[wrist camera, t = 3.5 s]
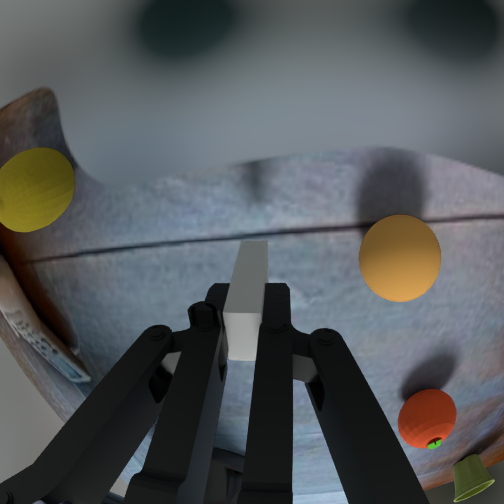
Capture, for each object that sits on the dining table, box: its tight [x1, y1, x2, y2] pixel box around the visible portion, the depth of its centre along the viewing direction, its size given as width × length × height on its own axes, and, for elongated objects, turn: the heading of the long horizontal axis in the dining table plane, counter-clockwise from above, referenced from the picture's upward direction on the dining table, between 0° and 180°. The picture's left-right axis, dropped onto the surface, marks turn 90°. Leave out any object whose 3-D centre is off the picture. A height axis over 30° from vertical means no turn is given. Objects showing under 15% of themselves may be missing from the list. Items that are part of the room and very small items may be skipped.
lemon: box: [0, 147, 75, 232], centre depth 17 cm, size 6×6×8 cm
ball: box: [359, 215, 441, 302], centre depth 18 cm, size 6×6×6 cm
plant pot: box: [453, 454, 495, 502], centre depth 36 cm, size 9×9×9 cm
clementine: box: [398, 389, 456, 450], centre depth 26 cm, size 8×7×7 cm
